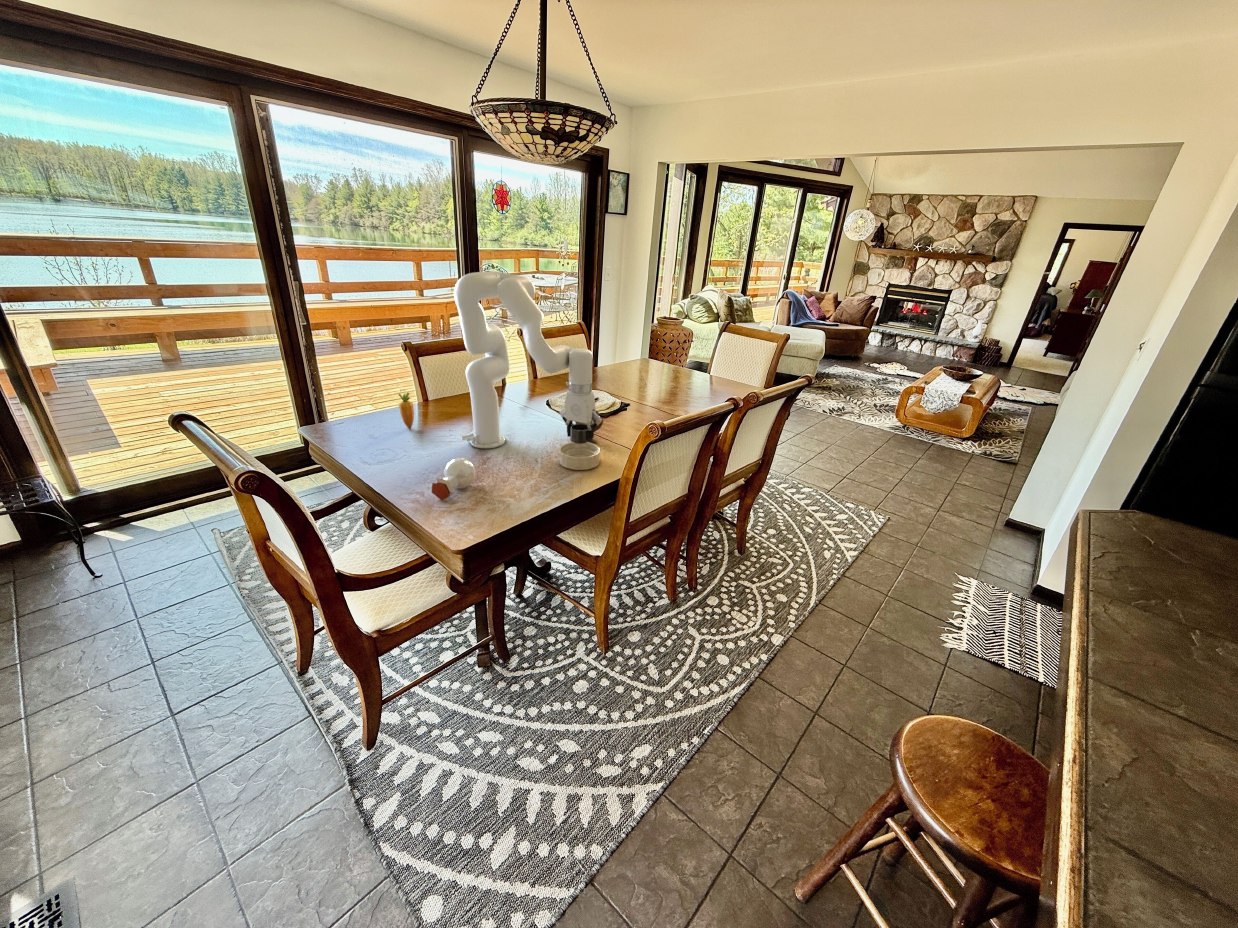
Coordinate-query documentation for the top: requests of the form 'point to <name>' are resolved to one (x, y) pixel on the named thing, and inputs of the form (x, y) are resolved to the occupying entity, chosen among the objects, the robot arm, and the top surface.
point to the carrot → (406, 410)
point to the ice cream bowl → (595, 427)
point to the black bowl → (578, 433)
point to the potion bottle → (454, 478)
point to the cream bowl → (579, 455)
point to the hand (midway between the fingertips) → (580, 437)
